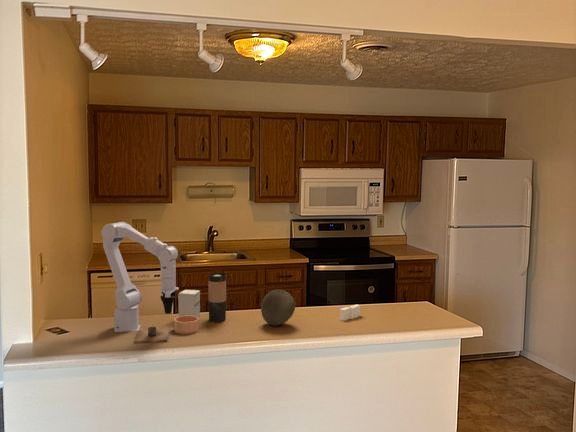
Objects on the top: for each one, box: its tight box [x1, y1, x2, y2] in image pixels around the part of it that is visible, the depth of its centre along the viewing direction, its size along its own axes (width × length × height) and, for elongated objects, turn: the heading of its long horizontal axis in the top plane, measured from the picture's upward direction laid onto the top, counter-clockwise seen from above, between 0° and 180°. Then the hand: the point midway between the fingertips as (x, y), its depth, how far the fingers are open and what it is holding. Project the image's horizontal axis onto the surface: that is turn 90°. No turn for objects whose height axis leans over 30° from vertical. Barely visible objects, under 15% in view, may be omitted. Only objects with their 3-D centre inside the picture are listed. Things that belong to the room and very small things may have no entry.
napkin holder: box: [339, 303, 361, 321], centre depth 240 cm, size 15×11×6 cm
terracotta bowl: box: [173, 315, 200, 335], centre depth 219 cm, size 10×10×5 cm
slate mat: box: [132, 331, 171, 345], centre depth 209 cm, size 13×13×1 cm
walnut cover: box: [133, 326, 170, 344], centre depth 209 cm, size 12×12×4 cm
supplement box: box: [177, 289, 201, 319], centre depth 233 cm, size 7×7×13 cm
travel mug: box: [208, 272, 227, 323], centre depth 234 cm, size 8×8×20 cm
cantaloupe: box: [260, 289, 296, 327], centre depth 228 cm, size 14×14×15 cm
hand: (168, 310), depth 213 cm, fingers open, 7 cm apart
